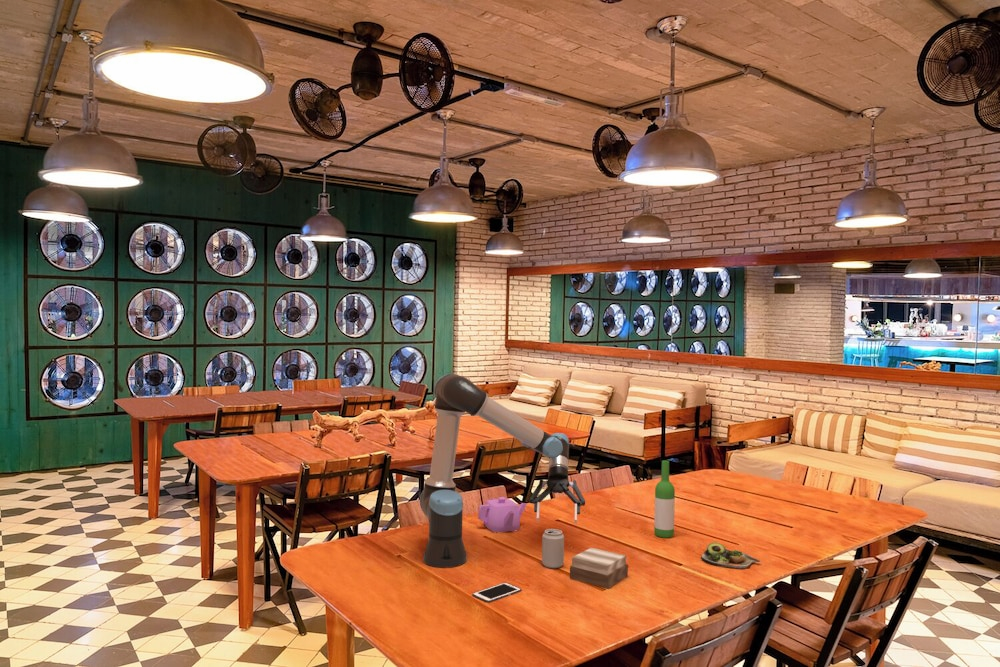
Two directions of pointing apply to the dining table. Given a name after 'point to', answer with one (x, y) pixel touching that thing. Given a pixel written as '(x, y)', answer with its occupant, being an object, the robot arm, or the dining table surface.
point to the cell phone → (496, 592)
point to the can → (553, 548)
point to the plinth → (598, 576)
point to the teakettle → (501, 514)
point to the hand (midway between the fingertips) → (556, 520)
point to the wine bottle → (664, 504)
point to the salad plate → (726, 557)
